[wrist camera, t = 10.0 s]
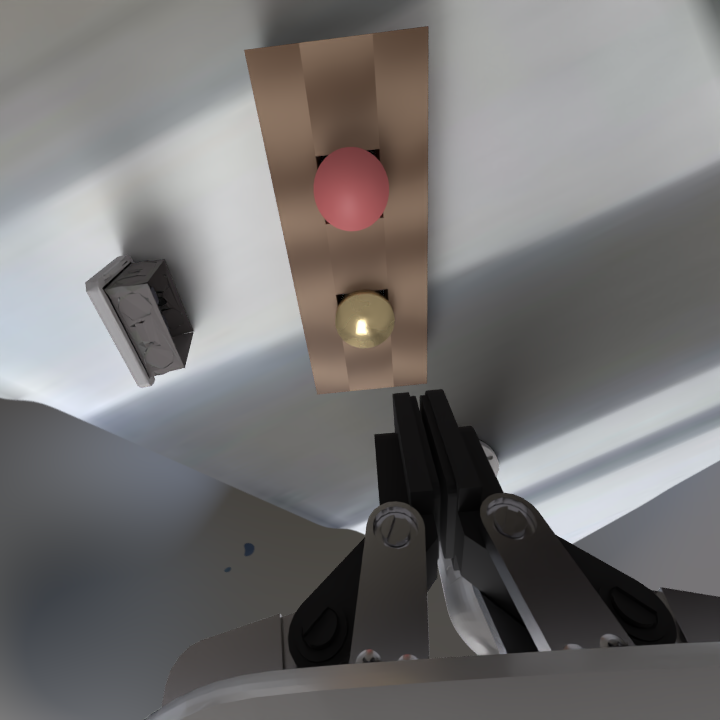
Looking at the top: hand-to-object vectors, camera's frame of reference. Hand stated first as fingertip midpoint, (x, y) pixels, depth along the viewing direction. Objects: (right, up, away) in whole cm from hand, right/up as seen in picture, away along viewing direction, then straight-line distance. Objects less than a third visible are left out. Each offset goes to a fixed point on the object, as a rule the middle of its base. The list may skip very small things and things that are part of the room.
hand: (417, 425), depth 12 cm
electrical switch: (-21, +9, +22) cm, 31 cm away
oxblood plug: (-3, +17, +16) cm, 23 cm away
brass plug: (-2, +9, +22) cm, 24 cm away
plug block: (-2, +13, +19) cm, 23 cm away
